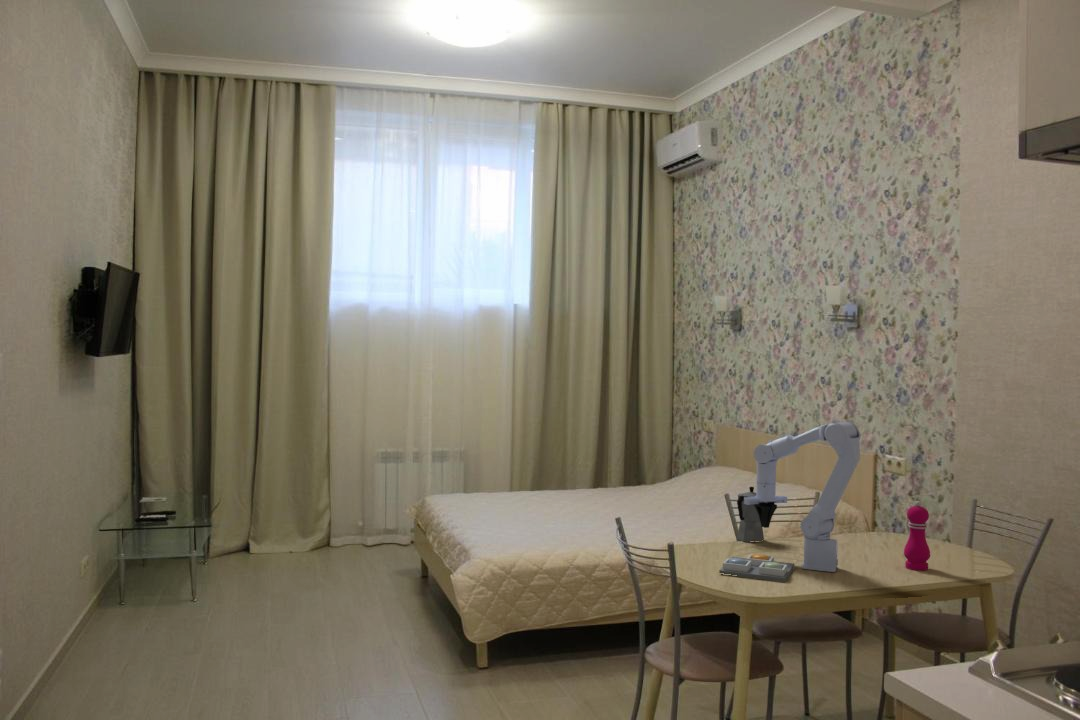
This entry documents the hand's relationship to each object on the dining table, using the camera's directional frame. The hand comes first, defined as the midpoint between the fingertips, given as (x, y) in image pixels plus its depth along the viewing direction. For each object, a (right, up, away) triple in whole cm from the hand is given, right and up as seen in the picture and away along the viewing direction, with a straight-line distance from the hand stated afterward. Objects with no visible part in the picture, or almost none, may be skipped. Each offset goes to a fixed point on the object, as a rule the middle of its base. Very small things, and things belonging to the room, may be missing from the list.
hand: (765, 527), depth 268 cm
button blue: (-13, -7, -19) cm, 25 cm away
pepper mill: (+42, -11, -10) cm, 45 cm away
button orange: (-5, -8, -13) cm, 16 cm away
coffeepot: (+1, -10, +26) cm, 27 cm away
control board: (-7, -9, -17) cm, 21 cm away
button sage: (-4, -8, -23) cm, 25 cm away
